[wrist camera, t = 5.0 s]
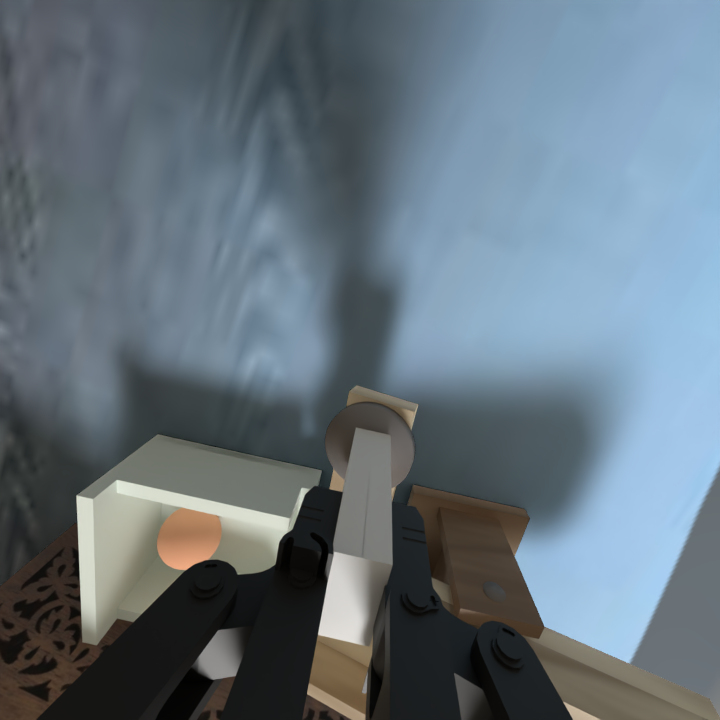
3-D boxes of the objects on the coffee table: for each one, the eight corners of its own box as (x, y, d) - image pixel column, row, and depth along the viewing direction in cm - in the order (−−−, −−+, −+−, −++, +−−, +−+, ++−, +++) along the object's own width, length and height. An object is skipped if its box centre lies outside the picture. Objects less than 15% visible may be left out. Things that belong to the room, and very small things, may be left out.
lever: (346, 382, 17) (315, 405, 14) (828, 531, 12) (951, 620, 9) (299, 621, 21) (267, 681, 18) (638, 798, 16) (676, 921, 13)
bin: (157, 434, 22) (76, 495, 16) (322, 470, 22) (298, 545, 16) (153, 553, 25) (82, 642, 19) (299, 586, 25) (272, 686, 19)
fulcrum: (412, 484, 22) (424, 589, 15) (524, 509, 22) (589, 627, 15) (377, 609, 25) (373, 745, 18) (476, 631, 24) (510, 777, 18)
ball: (234, 501, 22) (183, 486, 22) (202, 542, 19) (143, 525, 19) (229, 544, 23) (180, 530, 23) (198, 592, 20) (141, 574, 20)
